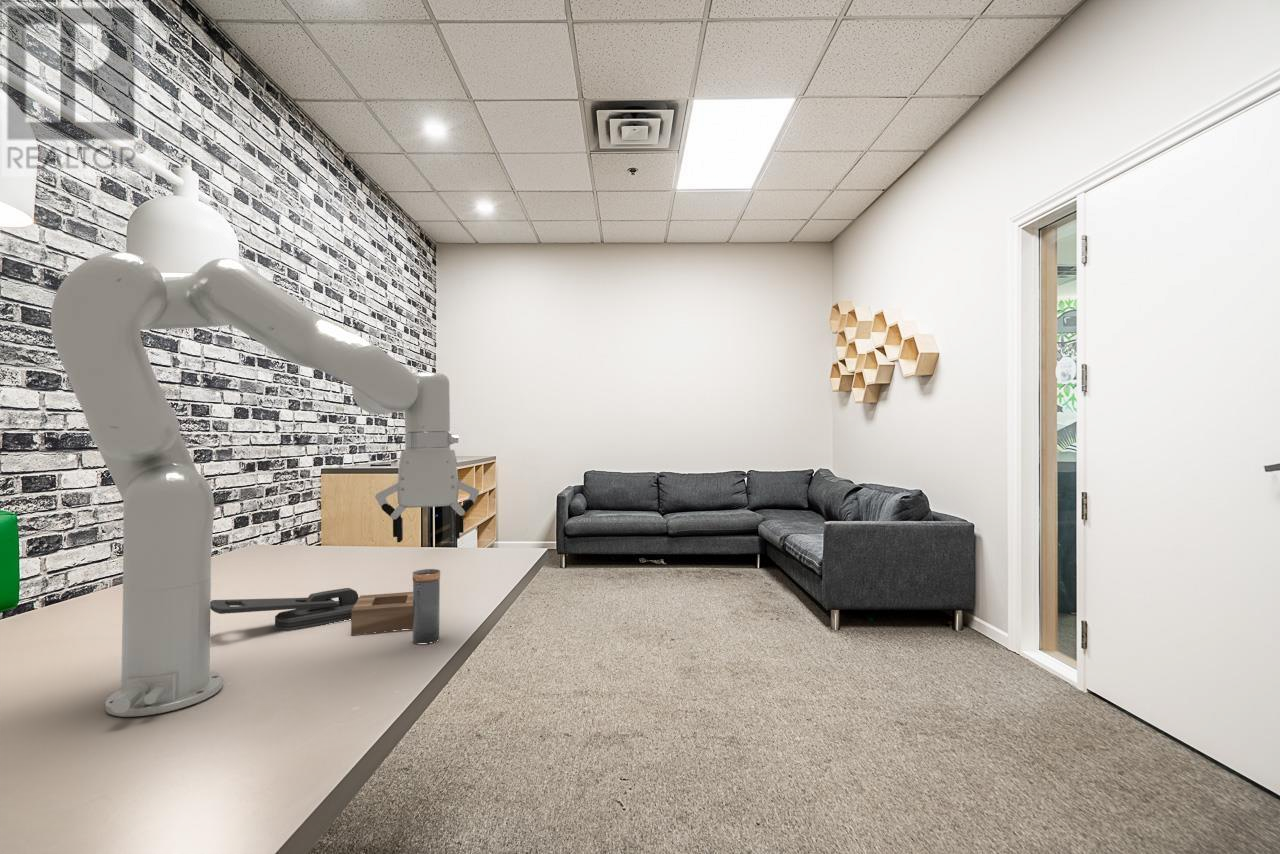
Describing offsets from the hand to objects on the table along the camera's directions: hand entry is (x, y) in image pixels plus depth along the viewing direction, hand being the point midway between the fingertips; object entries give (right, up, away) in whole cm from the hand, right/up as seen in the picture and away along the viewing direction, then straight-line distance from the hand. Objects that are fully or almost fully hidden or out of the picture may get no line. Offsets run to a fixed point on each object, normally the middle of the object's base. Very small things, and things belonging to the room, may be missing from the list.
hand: (429, 539), depth 106 cm
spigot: (0, -18, -1) cm, 18 cm away
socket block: (-11, -18, +9) cm, 23 cm away
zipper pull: (-29, -18, +8) cm, 35 cm away
